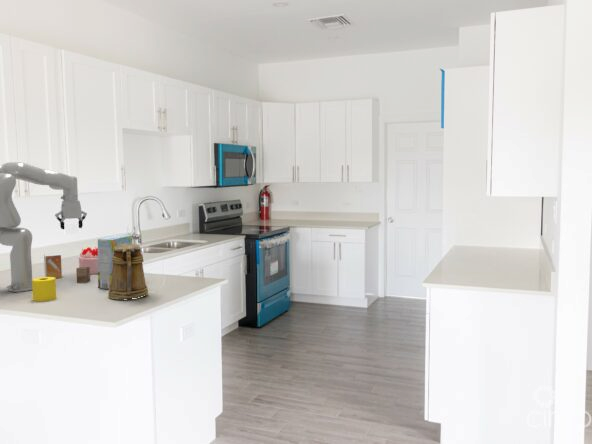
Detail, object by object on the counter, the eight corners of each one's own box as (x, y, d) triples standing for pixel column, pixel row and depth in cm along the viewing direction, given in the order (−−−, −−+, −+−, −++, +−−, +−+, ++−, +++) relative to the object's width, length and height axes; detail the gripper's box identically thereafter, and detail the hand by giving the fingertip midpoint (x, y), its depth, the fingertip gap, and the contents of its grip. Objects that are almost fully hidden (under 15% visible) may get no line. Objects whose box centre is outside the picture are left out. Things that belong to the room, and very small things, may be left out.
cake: (75, 270, 320) (74, 247, 318) (108, 267, 332) (108, 244, 330) (85, 276, 304) (83, 251, 303) (119, 271, 316) (118, 248, 315)
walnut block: (85, 283, 284) (85, 268, 284) (76, 283, 285) (76, 268, 284) (90, 281, 289) (89, 266, 289) (81, 281, 290) (80, 266, 289)
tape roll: (33, 297, 253) (32, 278, 252) (56, 295, 257) (55, 276, 256) (32, 302, 244) (31, 282, 243) (56, 299, 248) (55, 280, 247)
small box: (46, 279, 295) (45, 256, 294) (44, 277, 300) (43, 254, 299) (62, 277, 299) (61, 254, 298) (60, 275, 305) (59, 253, 303)
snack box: (113, 289, 268) (111, 239, 266) (97, 289, 270) (95, 239, 267) (134, 281, 289) (132, 234, 287) (119, 280, 291) (118, 234, 289)
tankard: (144, 290, 267) (142, 241, 265) (152, 300, 246) (151, 247, 243) (106, 293, 259) (104, 243, 257) (111, 304, 238) (109, 250, 236)
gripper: (56, 198, 290) (58, 230, 291) (88, 198, 301) (89, 228, 303) (52, 198, 295) (53, 229, 297) (83, 197, 307) (84, 227, 308)
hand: (71, 228), depth 300 cm, fingers open, 9 cm apart
